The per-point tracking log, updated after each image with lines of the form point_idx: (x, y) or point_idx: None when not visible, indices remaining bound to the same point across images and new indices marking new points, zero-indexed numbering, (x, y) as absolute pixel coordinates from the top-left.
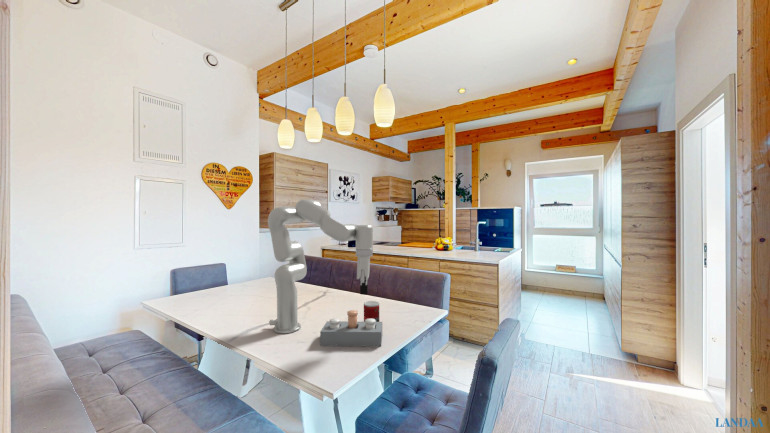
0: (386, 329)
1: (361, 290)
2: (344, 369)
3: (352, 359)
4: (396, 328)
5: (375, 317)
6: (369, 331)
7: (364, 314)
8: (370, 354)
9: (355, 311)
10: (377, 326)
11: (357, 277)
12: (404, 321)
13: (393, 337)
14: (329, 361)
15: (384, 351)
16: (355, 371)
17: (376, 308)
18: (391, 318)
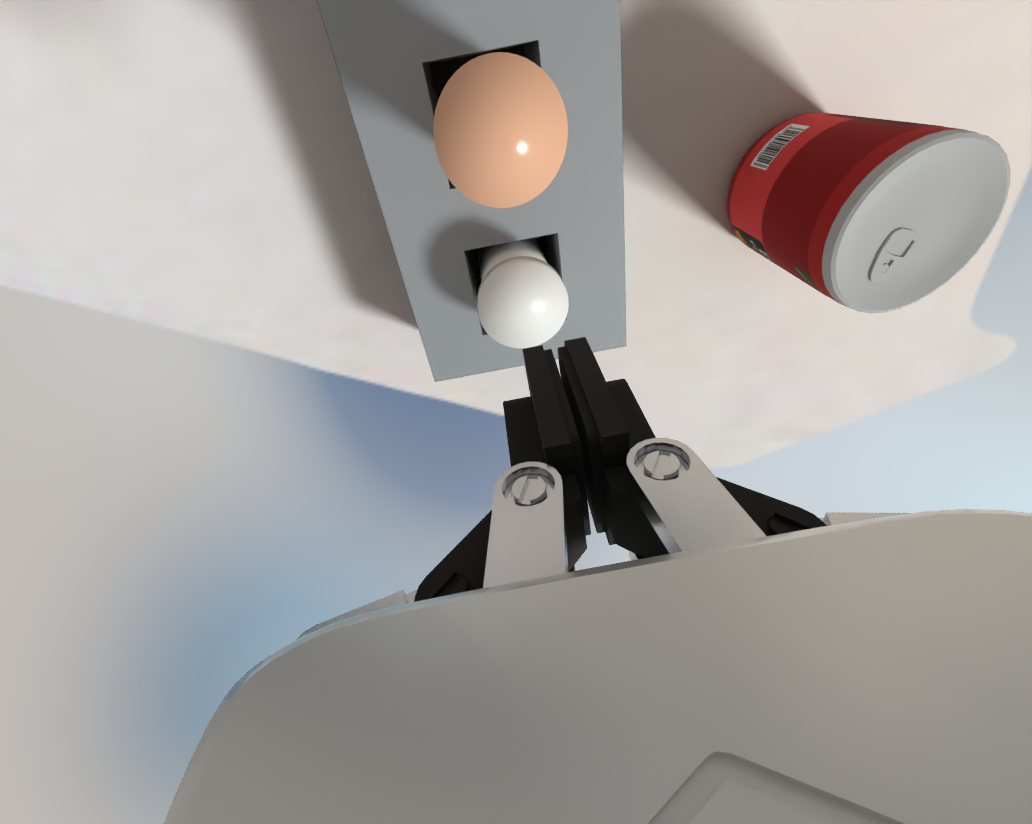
0: (687, 311)
1: (531, 401)
2: (61, 207)
3: (203, 216)
4: (700, 364)
5: (767, 252)
6: (422, 305)
7: (824, 141)
8: (317, 306)
9: (523, 173)
10: None
11: (193, 754)
12: (807, 386)
13: None
14: (71, 41)
15: (382, 367)
16: (90, 281)
17: (817, 287)
18: None
